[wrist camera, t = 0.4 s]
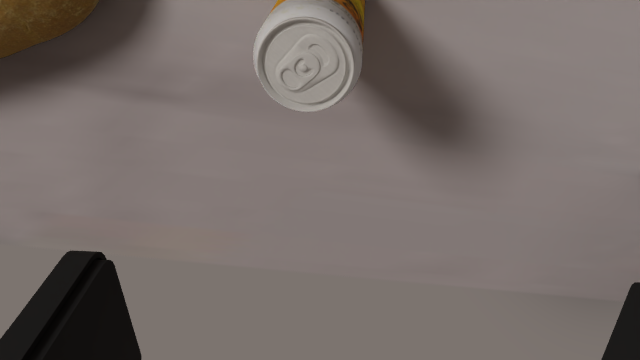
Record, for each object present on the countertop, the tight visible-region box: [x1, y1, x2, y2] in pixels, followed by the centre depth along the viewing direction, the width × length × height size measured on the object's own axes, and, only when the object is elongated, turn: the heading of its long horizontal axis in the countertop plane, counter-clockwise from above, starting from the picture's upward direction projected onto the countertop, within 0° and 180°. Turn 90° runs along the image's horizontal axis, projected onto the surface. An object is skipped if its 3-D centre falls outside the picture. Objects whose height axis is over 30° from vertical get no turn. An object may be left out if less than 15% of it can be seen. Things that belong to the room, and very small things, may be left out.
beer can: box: [253, 0, 365, 112], centre depth 35 cm, size 6×6×15 cm
